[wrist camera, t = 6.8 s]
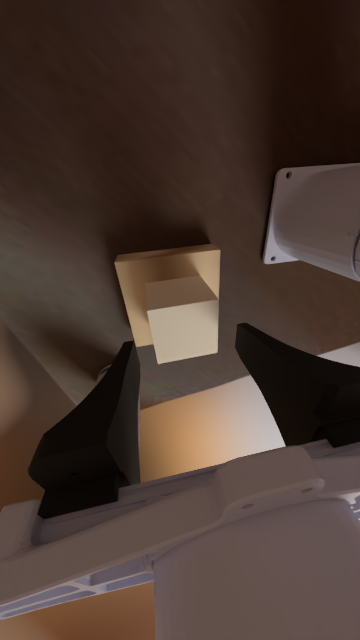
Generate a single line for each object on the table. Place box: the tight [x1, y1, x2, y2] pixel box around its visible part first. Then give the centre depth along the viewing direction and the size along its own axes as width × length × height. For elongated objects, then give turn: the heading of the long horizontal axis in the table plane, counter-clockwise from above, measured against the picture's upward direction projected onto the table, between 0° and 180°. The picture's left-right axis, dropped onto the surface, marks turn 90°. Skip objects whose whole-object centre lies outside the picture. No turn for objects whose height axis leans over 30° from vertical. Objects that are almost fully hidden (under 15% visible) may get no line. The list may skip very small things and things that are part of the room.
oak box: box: [114, 244, 220, 347], centre depth 20 cm, size 9×9×3 cm
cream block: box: [145, 275, 219, 364], centre depth 17 cm, size 5×5×5 cm
